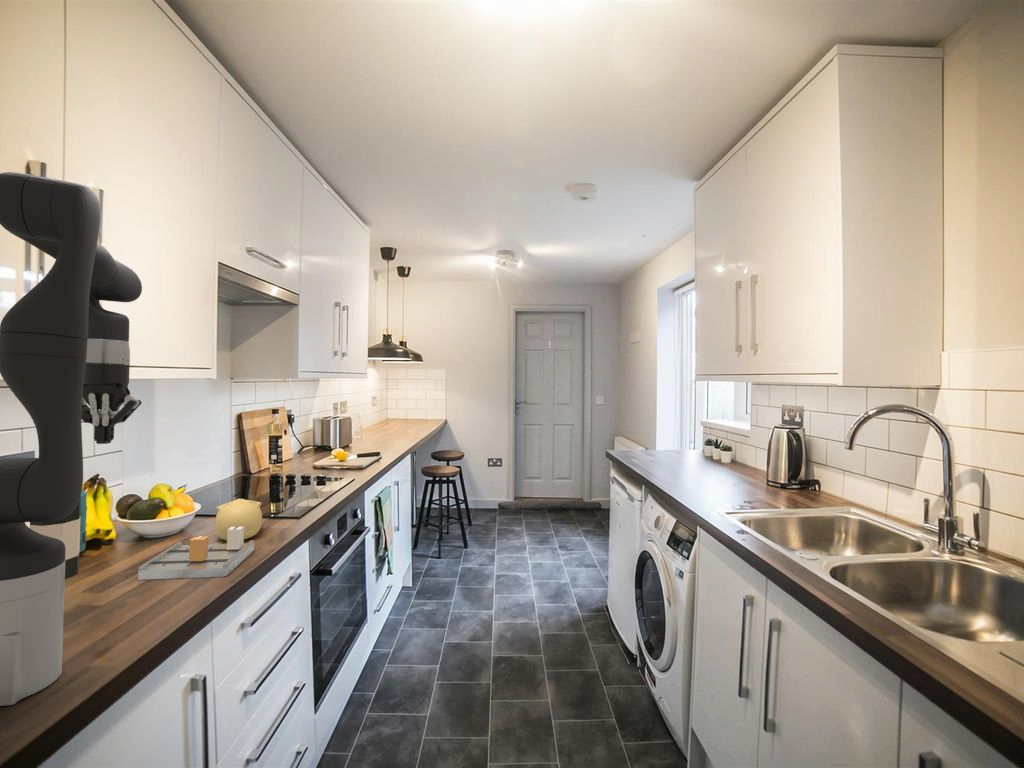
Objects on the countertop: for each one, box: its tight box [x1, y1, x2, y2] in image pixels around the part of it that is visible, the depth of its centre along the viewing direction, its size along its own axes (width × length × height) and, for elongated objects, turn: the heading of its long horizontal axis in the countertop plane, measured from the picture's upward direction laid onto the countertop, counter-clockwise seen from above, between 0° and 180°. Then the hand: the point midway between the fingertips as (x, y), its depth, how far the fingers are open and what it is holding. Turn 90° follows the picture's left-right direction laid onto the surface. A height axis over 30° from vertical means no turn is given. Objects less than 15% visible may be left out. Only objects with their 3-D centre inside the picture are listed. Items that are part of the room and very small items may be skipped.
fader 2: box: [226, 526, 245, 550], centre depth 114 cm, size 2×3×5 cm
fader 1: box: [189, 535, 209, 561], centre depth 107 cm, size 2×3×5 cm
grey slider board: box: [137, 539, 255, 581], centre depth 110 cm, size 16×18×3 cm
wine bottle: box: [29, 497, 81, 580], centre depth 101 cm, size 8×8×30 cm
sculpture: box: [214, 498, 263, 541], centre depth 129 cm, size 12×12×11 cm
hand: (104, 443), depth 96 cm, fingers closed
